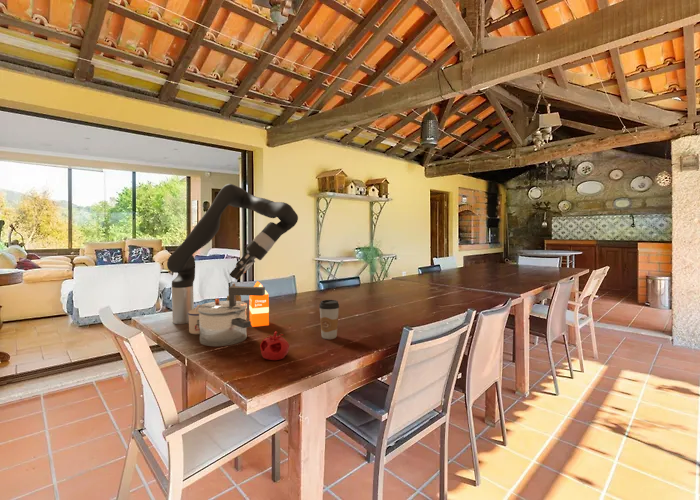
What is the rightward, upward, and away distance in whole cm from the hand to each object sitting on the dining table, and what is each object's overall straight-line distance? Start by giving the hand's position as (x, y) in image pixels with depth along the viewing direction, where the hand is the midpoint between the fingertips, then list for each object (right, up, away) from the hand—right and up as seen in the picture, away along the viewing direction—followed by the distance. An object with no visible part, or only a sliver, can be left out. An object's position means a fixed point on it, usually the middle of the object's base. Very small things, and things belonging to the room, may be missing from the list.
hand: (233, 277), depth 135 cm
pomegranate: (+19, -27, -13) cm, 36 cm away
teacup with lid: (-19, -25, +18) cm, 36 cm away
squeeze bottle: (-12, -24, +36) cm, 45 cm away
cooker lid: (-2, -13, +6) cm, 15 cm away
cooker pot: (-3, -26, +4) cm, 26 cm away
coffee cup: (+37, -26, +10) cm, 46 cm away
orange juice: (+2, -24, +30) cm, 39 cm away
